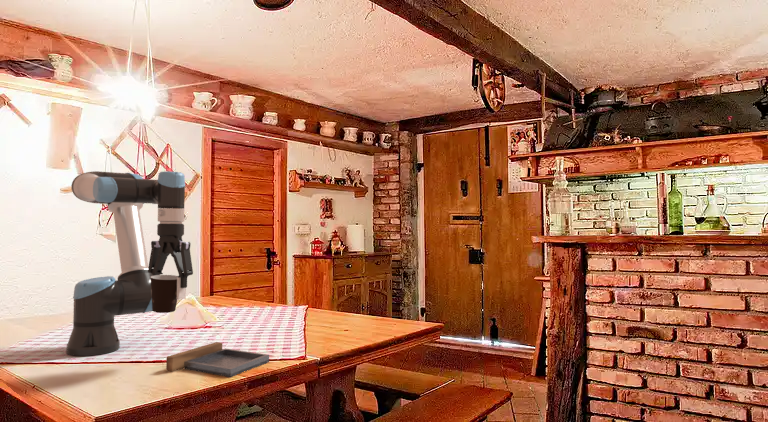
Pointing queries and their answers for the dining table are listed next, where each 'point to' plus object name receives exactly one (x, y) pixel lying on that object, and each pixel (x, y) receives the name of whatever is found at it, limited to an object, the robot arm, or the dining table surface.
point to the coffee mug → (164, 293)
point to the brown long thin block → (190, 356)
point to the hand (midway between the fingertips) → (169, 297)
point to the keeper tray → (226, 362)
